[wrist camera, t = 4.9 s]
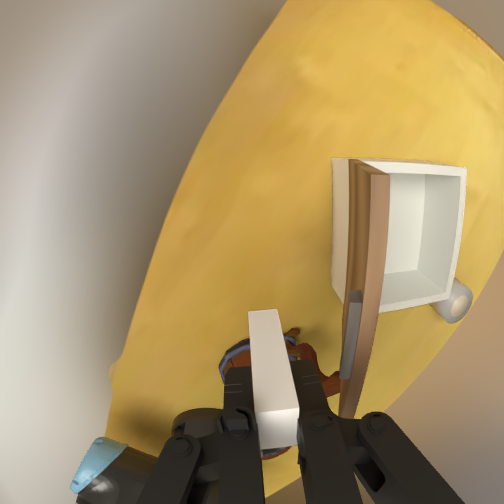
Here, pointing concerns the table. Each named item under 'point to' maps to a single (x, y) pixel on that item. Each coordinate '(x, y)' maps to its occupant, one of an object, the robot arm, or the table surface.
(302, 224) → the table surface
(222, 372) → the mug
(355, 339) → the lid
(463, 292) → the grey squat drum
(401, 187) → the box
